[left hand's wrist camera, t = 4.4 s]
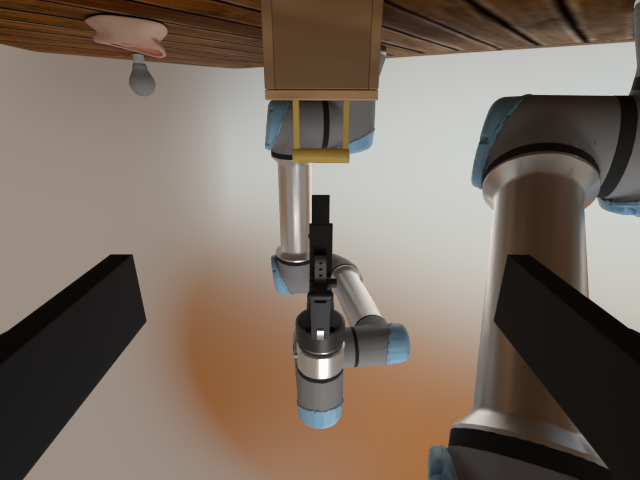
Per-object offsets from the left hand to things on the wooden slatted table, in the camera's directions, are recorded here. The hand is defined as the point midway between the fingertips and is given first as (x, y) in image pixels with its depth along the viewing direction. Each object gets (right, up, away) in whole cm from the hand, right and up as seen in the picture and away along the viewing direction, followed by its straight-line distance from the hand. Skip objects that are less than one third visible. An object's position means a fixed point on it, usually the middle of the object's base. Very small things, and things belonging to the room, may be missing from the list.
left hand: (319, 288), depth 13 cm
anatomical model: (-30, +35, +43) cm, 63 cm away
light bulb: (-45, +48, +76) cm, 100 cm away
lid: (0, +17, +25) cm, 31 cm away
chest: (0, +27, +21) cm, 34 cm away
